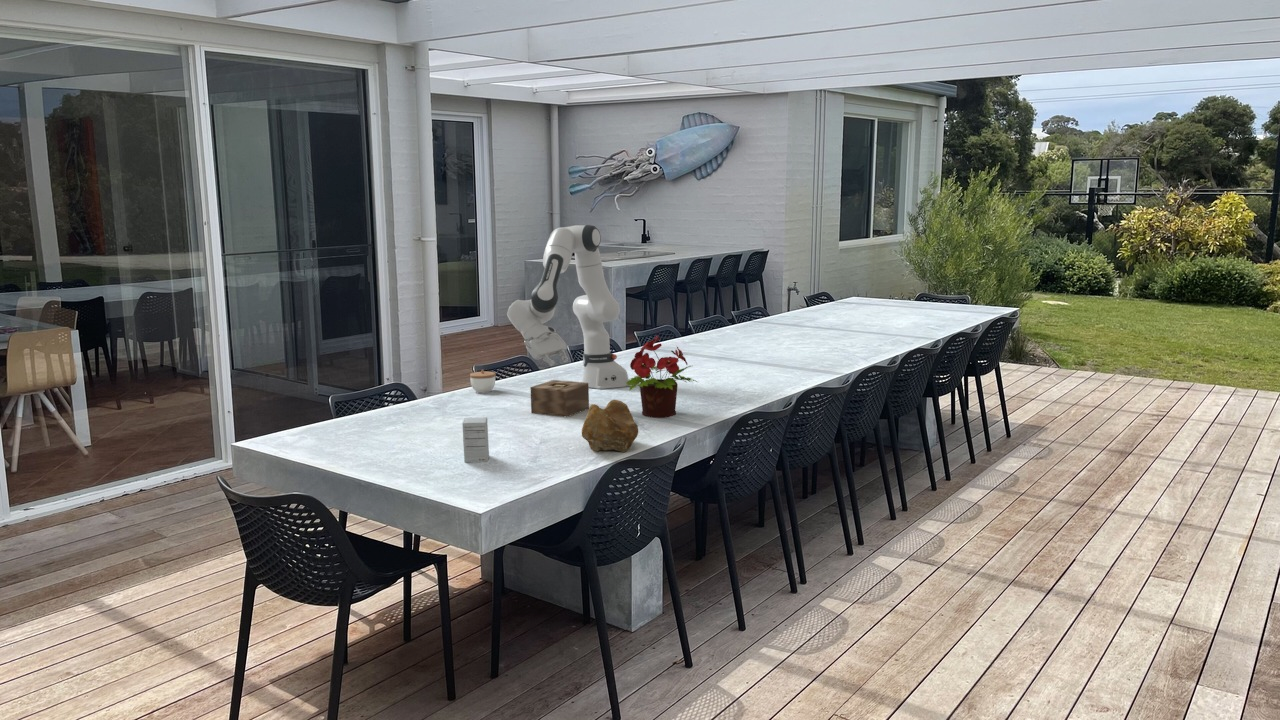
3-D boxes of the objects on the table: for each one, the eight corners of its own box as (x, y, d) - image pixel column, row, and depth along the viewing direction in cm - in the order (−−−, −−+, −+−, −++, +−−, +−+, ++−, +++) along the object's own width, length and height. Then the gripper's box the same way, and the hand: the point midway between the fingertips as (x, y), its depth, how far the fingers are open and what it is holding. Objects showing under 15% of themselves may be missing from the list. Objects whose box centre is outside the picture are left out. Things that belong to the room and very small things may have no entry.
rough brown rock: (619, 462, 295) (623, 415, 293) (573, 452, 302) (576, 406, 300) (652, 447, 316) (655, 403, 313) (608, 438, 323) (611, 395, 320)
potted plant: (650, 404, 374) (649, 328, 369) (709, 412, 359) (708, 333, 354) (604, 418, 351) (602, 338, 346) (665, 428, 335) (664, 343, 330)
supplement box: (465, 456, 302) (464, 417, 300) (489, 455, 303) (487, 416, 300) (463, 462, 295) (461, 422, 293) (487, 461, 295) (486, 422, 293)
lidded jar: (499, 389, 409) (498, 367, 407) (492, 394, 399) (491, 372, 397) (474, 389, 410) (473, 367, 409) (467, 394, 400) (466, 372, 398)
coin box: (531, 413, 362) (530, 387, 360) (553, 404, 376) (553, 379, 374) (567, 416, 355) (566, 390, 353) (589, 408, 369) (588, 382, 367)
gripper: (526, 334, 354) (550, 361, 352) (556, 327, 372) (578, 353, 369) (517, 345, 357) (540, 373, 354) (547, 338, 375) (569, 364, 372)
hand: (560, 362), depth 362 cm, fingers open, 8 cm apart
